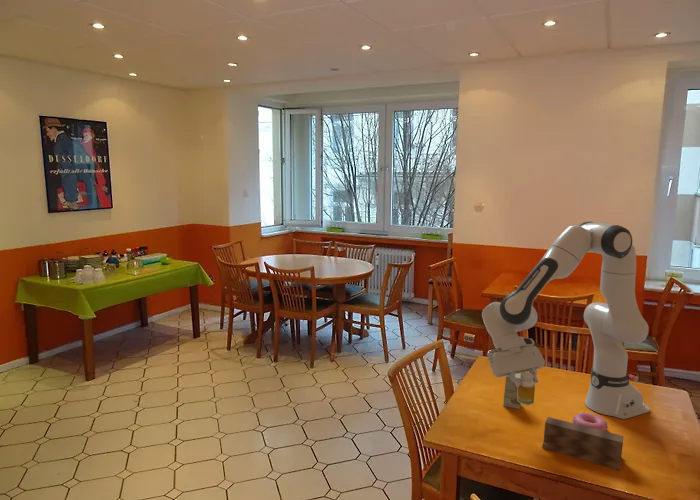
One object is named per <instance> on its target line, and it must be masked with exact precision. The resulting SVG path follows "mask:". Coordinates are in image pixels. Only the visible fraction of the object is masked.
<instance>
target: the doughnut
mask: <svg viewBox="0 0 700 500" xmlns="http://www.w3.org/2000/svg"><path fill="white" fill-rule="evenodd" d="M572 423H575V424H578V425H582V426H586V427H590V428H594V429H598V430H602V431H606V432H608V431H607V430H608V428H609V426H608V423H607V422H606V420H605V419H604V418H602V417H601V416H599V415H596V414H594V413H589V412H580V413H576V414H575V415H574V417H573V418H572Z"/></svg>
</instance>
